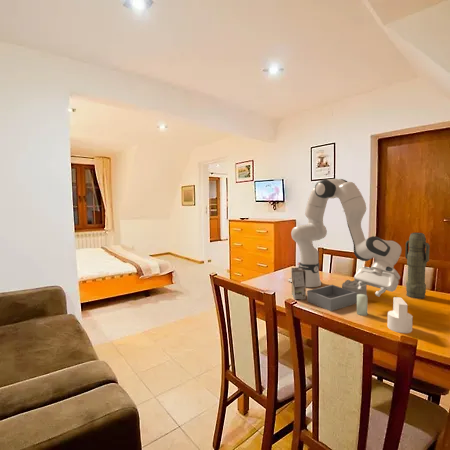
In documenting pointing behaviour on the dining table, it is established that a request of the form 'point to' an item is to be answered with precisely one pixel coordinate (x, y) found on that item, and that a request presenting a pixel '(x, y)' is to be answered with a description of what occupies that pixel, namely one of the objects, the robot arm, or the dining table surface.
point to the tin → (362, 304)
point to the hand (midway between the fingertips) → (367, 292)
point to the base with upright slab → (399, 317)
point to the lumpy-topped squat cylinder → (354, 287)
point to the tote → (331, 297)
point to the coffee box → (298, 283)
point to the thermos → (416, 265)
